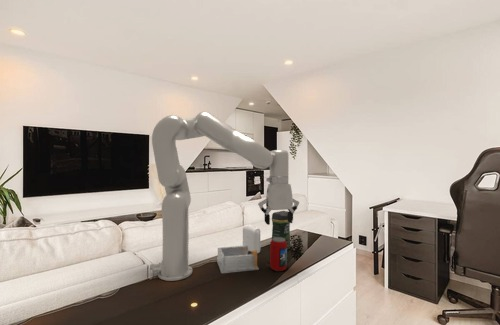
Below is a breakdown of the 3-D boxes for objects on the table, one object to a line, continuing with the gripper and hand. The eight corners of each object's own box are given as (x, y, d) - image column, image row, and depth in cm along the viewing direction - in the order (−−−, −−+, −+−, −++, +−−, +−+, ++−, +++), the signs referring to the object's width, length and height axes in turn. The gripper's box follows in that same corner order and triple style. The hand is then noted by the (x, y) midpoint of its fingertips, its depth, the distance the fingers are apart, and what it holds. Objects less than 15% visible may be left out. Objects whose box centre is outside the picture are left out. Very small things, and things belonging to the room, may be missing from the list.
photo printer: (241, 248, 127) (241, 223, 127) (248, 246, 130) (248, 222, 130) (254, 254, 119) (255, 227, 119) (261, 252, 122) (261, 226, 122)
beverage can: (286, 273, 100) (286, 242, 100) (268, 271, 101) (269, 240, 101) (287, 266, 106) (287, 237, 106) (271, 264, 108) (271, 236, 108)
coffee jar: (281, 253, 121) (281, 213, 121) (268, 249, 127) (268, 211, 127) (293, 248, 128) (293, 211, 128) (280, 244, 134) (280, 208, 134)
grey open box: (221, 273, 99) (221, 255, 99) (216, 259, 112) (216, 243, 112) (258, 269, 103) (258, 251, 102) (249, 256, 116) (249, 241, 116)
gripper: (261, 182, 98) (261, 226, 98) (302, 181, 102) (302, 224, 102) (255, 180, 105) (255, 222, 105) (294, 179, 109) (294, 219, 109)
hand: (278, 223), depth 104 cm, fingers open, 9 cm apart
